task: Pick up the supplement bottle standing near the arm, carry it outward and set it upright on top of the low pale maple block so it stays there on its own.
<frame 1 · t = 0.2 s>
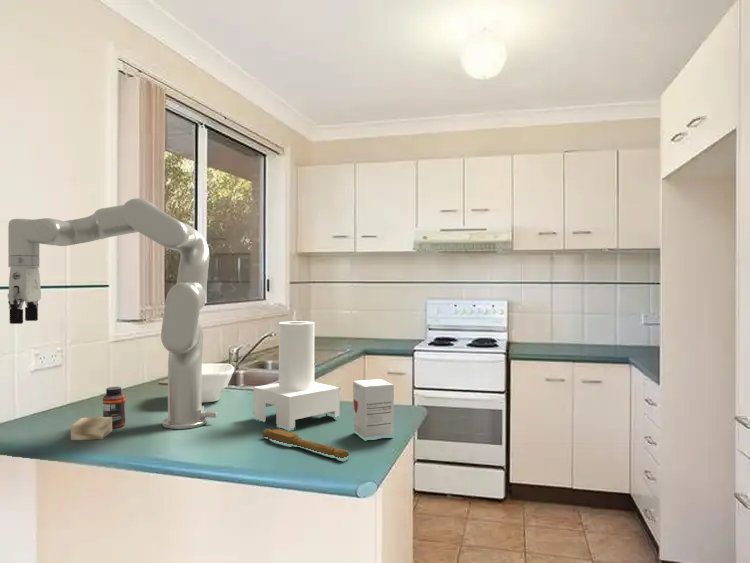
hand: (24, 322, 158), 31 cm above the worktop, tool pointing down, fingers open, 9 cm apart
supplement box: (372, 436, 154), on the worktop
bowl: (201, 401, 194), on the worktop
maple block: (92, 435, 152), on the worktop
supplement bottle: (114, 426, 162), on the worktop
paper towel holder: (296, 420, 170), on the worktop
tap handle: (302, 450, 142), on the worktop
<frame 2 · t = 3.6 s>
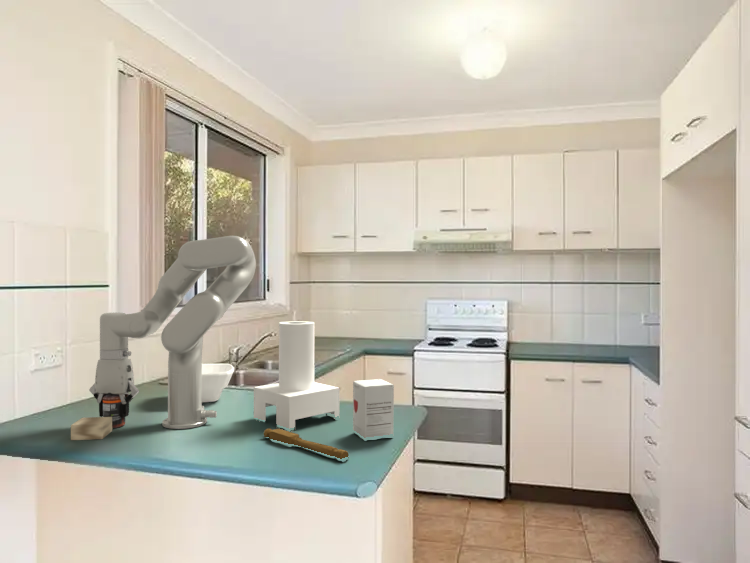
hand: (114, 415, 162), 3 cm above the worktop, tool pointing down, fingers closed on supplement bottle, 5 cm apart
supplement bottle: (114, 426, 162), on the worktop, touching gripper
everything else where it was.
when the fingers open (8 cm above the worktop, at t = 8.0 s): supplement bottle stays where it is, resting on maple block.
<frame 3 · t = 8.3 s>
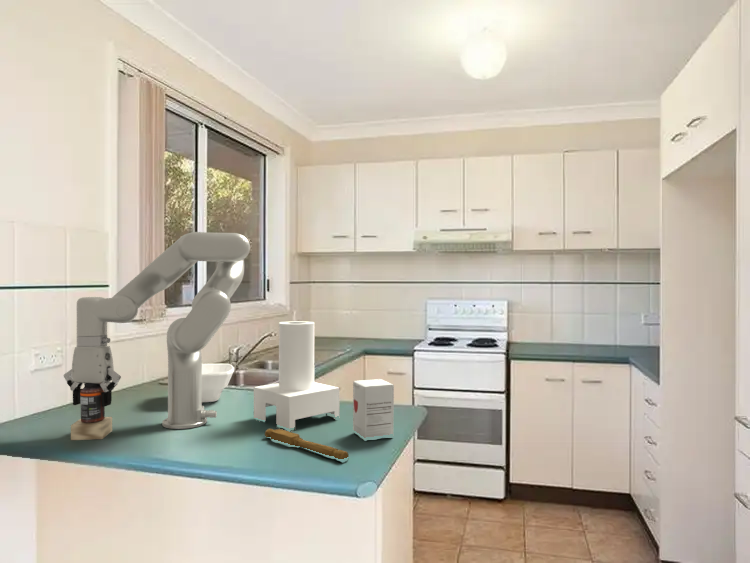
hand: (92, 404, 152), 9 cm above the worktop, tool pointing down, fingers open, 8 cm apart
supplement bottle: (92, 421, 153), point 4 cm above the worktop, touching maple block
everything else where it was.
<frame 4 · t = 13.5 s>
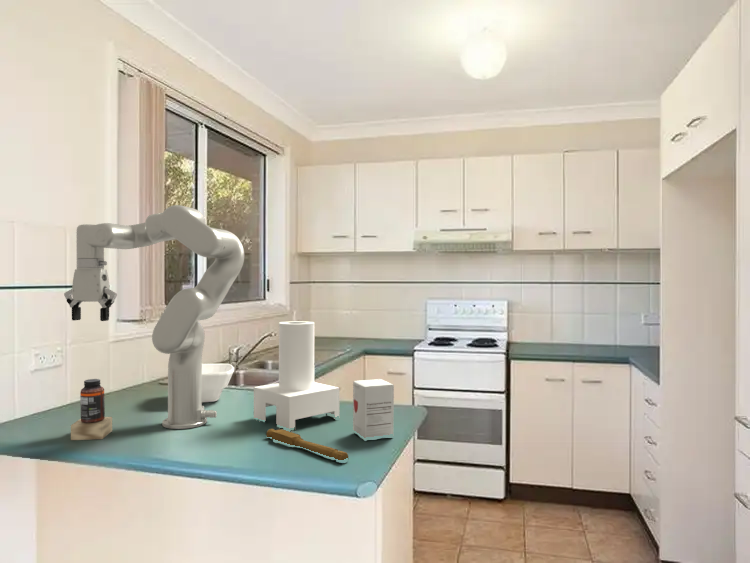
hand: (90, 320, 170), 30 cm above the worktop, tool pointing down, fingers open, 9 cm apart
nothing on the worktop moved.
at the end: supplement bottle 0.1 cm off-centre on the maple block, point 3.8 cm above the maple block's base; supplement bottle tilted 0°; the gripper is holding nothing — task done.
